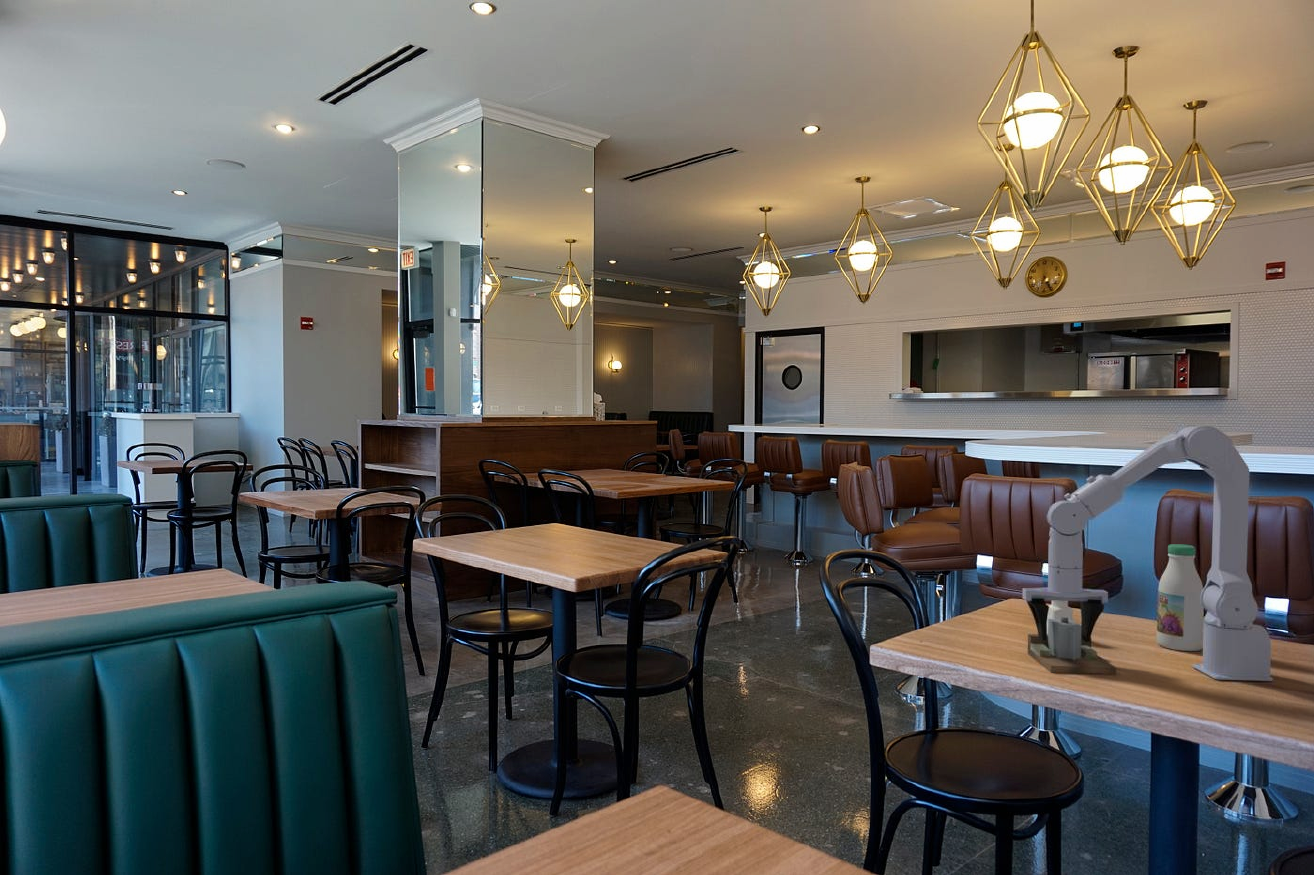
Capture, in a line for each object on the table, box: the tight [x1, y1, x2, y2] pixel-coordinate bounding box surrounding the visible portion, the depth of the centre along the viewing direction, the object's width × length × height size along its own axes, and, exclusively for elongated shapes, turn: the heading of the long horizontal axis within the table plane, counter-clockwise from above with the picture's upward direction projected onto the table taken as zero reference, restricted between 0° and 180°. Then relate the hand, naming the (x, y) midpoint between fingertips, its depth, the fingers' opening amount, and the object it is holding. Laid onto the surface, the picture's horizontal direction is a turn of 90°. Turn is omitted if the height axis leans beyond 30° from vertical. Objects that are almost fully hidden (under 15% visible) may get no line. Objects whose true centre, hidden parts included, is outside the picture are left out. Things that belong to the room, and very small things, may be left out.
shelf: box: [1027, 633, 1117, 675], centre depth 157 cm, size 11×12×4 cm
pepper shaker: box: [1047, 600, 1074, 635], centre depth 175 cm, size 4×4×10 cm
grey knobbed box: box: [1048, 617, 1081, 660], centre depth 157 cm, size 4×7×7 cm, turn 175°
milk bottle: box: [1156, 543, 1205, 652], centre depth 168 cm, size 8×8×20 cm
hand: (1063, 639), depth 158 cm, fingers open, 7 cm apart
